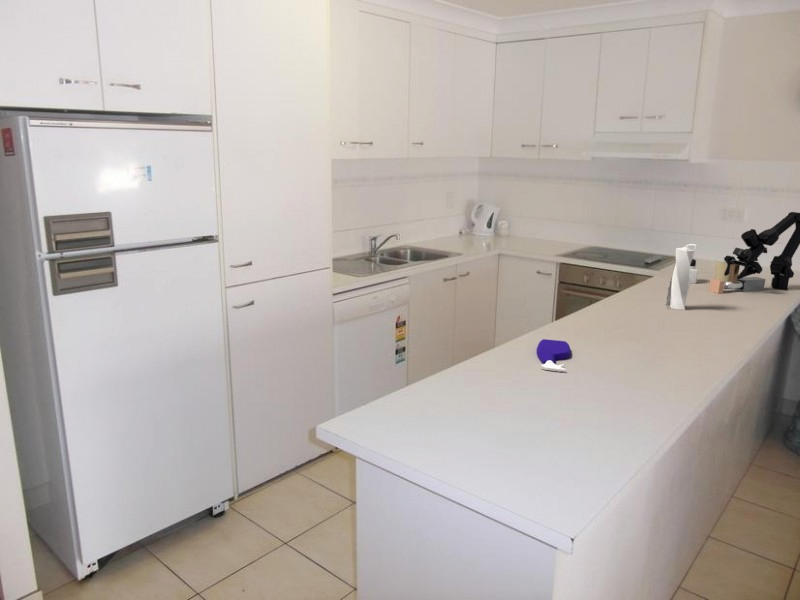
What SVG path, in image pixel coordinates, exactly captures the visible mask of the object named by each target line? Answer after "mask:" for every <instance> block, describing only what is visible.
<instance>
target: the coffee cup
mask: <svg viewBox="0 0 800 600" xmlns="http://www.w3.org/2000/svg"><path fill="white" fill-rule="evenodd" d="M725 257H726V256H725ZM725 257H724V256H719V257H716V259H715V261H716V262H715V270H714V271H715V272H714V279H718V280H722V281H725V282H728V277H729V274H728V275H727V276H725V275H724V273H725V271H726V268H727V265H728V264H727V263H726V261H725V260H724V258H725Z"/></svg>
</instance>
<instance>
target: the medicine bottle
mask: <svg viewBox="0 0 800 600" xmlns="http://www.w3.org/2000/svg"><path fill="white" fill-rule="evenodd" d="M696 265H697V260H696V259H695V258H692V261H691V264H690V270H691V279H690V285H691V284H692V285H693V284H697V281H698V273H699V269H697V268H696Z"/></svg>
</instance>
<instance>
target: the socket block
mask: <svg viewBox="0 0 800 600" xmlns="http://www.w3.org/2000/svg"><path fill="white" fill-rule="evenodd" d="M724 282H725V281H722V280H718V279H715V278H710V282H709V289H708V291H709V292H712V293H715V294H719V295H720V294H724Z"/></svg>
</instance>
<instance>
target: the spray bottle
mask: <svg viewBox="0 0 800 600" xmlns="http://www.w3.org/2000/svg"><path fill="white" fill-rule="evenodd" d="M536 356H537V358H538V359H539V360H540V362H541V363H542V364H540V370H544V371H553V372H557V373H558V372H560V373H561V372H562V373H565V372H566V368H565V367H564V366H565V364H564V363H563V364H557V362H556V361H563V360H567V359H569V358H570V357H571V346H570V344H569V343H568V342H567V341H565V340H554V339H544V338H542V339H541V340H540V341H539V342H538V344H537V347H536Z"/></svg>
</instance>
